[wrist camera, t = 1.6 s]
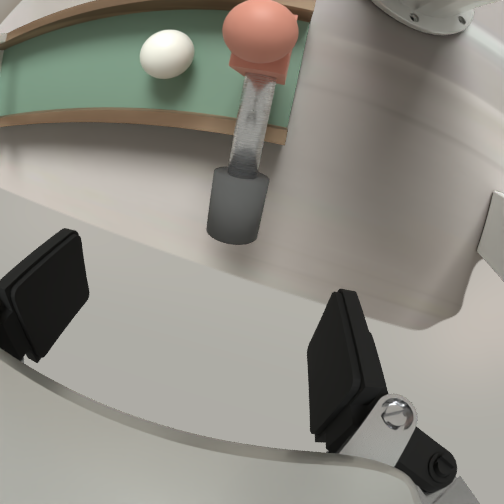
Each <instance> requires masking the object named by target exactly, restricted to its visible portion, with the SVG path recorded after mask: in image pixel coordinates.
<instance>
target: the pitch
mask: <svg viewBox="0 0 504 504" xmlns="http://www.w3.org/2000/svg"><path fill="white" fill-rule="evenodd" d="M245 1H248V0H96V1H92V2H88V3H84V4H81V5H77V6H74V7H71V8H68V9H65V10H62V11H59V12H56V13H53V14H51V15H48V16H45V17H43V18H40V19H38V20H35V21H33V22H31V23H28V24H26V25H24V26H22V27H20V28H17V29H15V30H13V31H11V32H9V33H7V37H6V42H4V43H0V50H4V53H3V58H2V65H1V72H0V127H4V126H13V125H24V124H38V123H59V122H107V123H130V124H145V125H158V126H168V127H178V128H186V129H194V130H202V131H209V132H216V133H222V134H228V135H234V130H235V124H236V119H237V114H238V108H239V103H240V98H241V93H242V88H243V82H244V78H245V77H244V76H243V75H241V74H240V73H238V72H237V71H236V70H234V69H233V68H231V67H230V66H229V61H230V56H231V51H230V50H229V48H228V47H227V45H226V44H225V42H224V39H223V33H222V28H223V23H224V20H225V18H226V16H227V15H228V13H229V12H230V11H231V10H232V9H233V8H234V7H235V6H237V5H238V4H240V3H242V2H245ZM272 1H275V2H278V3H280V4H281V5H283V6H285V7H286V8H287V9H288V10H289V11H290V12H291V13H292V14H294V15H298V18H297V24H298V32H299V34H298V39H297V42H296V44H295V46H294V48H293V49H292V53H291V58H290V63H289V67H288V72H287V77H286V81H285V85H281V84H276V85H275V90H274V95H273V100H272V105H271V109H270V114H269V119H268V124H267V129H266V133H265V138H264V141H266V142H271V143H276V144H280V145H285V141H286V136H287V132H288V131H287V126H288V121H289V117H290V112H291V108H292V103H293V99H294V94H295V89H296V85H297V80H298V76H299V71H300V66H301V62H302V57H303V52H304V48H305V43H306V38H307V34H308V29H309V24H310V21H311V17H312V14H313V11H314V7H315V2H316V0H272ZM163 30H177V31H180V32H183V33H184V34H186V35H187V36H188V37H189V38H190V39H191V41H192V43H193V45H194V50H195V53H194V58H193V61H192V63H191V65H190V66H189V67H188V69H187V70H186V71H184V72H183V73H182V74H180V75H178V76H176V77H173V78H169V79H159V78H155V77H152V76H151V75H149V74H148V73H146V72H145V71H144V69H143V68H142V66H141V63H140V51H141V48H142V46H143V44H144V43H145V41H146V40H147V39H148V38H149V37H150V36H152V35H153V34H155V33H157V32H159V31H163Z"/></svg>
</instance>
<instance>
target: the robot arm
mask: <svg viewBox="0 0 504 504" xmlns="http://www.w3.org/2000/svg"><path fill="white" fill-rule="evenodd" d="M371 1H372V2H373V3H374V4H375V5H377V6H378V7H379V8H380V9H382V10H383V11H384V12H385V13H387V14H388V15H390V16H391V17H393V18H394V19H396V20H397V21H399V22H401V23H403V24H405V25H407V26H409V27H411V28H413V29H416V30H418V31H421V32H424V33H428V34H433V35H450V34H455V33H458V32H460V31H463V30H464V29H466V28H467V27H468V26H469V25H470V23H471V22H472V20H473V16H474V12H475V8H477V7H481V6H484V5H487V4H491V3H494V2H498V1H502V0H371ZM411 19H412V20H411ZM88 298H89V288H88V282H87V277H86V271H85V264H84V258H83V250H82V242H81V238H80V236H79V235H78V232H76V231H74V230H70V229H66V228H64V229H62V230H60V231H59V232H58V233H56V234H55V235H54V236H52V237H51V238H50V239H48V240H47V241H46V242H45V243H43V244H42V245H41V246H39V247H38V248H37V249H36V250H34V251H33V252H32V253H31V254H30V255H28V256H27V257H26V258H25V259H24V260H22V261H21V262H20V263H19V264H18V265H16V266H15V267H14V268H13V269H12V270H11V271H10V272H9V273H7V274H6V275H5V276H4V277H3V278H2V279H1V280H0V504H480V503H479V502H478V500H477V499H476V498H475V496H474V495H473V493H472V492H471V490H470V489H469V488H468V486H467V485H466V483H465V482H464V481H463V479H462V478H461V476H459V477H458V478H456V473H457V465H456V460H455V459H454V457H453V455H452V454H451V453H450V452H449V451H447V450H446V449H445V448H443V447H442V446H441V445H440V444H438V443H437V442H435V441H434V440H433V439H432V438H430V437H429V436H428V435H426V434H425V433H424V432H422V431H421V430H420V429H419V428H417V427H416V425H417V421H418V417H417V412H416V409H415V407H414V406H413V404H412V403H411V402H410V401H409V400H408V399H407V398H405V397H403V396H401V395H398V394H388V391H387V387H386V383H385V379H384V375H383V372H382V368H381V364H380V361H379V357H378V354H377V350H376V347H375V343H374V340H373V337H372V335H371V333H370V332H369V330H368V327H367V324H366V320H365V317H364V314H363V311H362V308H361V305H360V302H359V299H358V296H357V293H356V292H355V291H350V290H345V289H339V290H338V292H333V293H332V295H331V297H330V299H329V302H328V304H327V306H326V309H325V311H324V313H323V316H322V317H321V320H320V322H319V324H318V326H317V329H316V331H315V333H314V335H313V337H312V339H311V341H310V343H309V346H308V350H307V361H308V381H309V403H310V404H309V406H310V432H311V433H312V434H315V442H326V449H327V450H328V451H327V452H326V453H321V452H310V451H298V450H286V449H277V448H269V447H261V446H255V445H248V444H242V443H235V442H230V441H225V440H219V439H214V438H210V437H205V436H201V435H197V434H192V433H189V432H184V431H181V430H177V429H174V428H170V427H166V426H163V425H160V424H157V423H154V422H151V421H147V420H144V419H141V418H138V417H135V416H133V415H130V414H127V413H124V412H122V411H119V410H117V409H114V408H112V407H109V406H107V405H104V404H102V403H99V402H97V401H95V400H93V399H90V398H88V397H86V396H84V395H82V394H79V393H77V392H75V391H73V390H71V389H69V388H67V387H65V386H63V385H61V384H59V383H57V382H55V381H54V380H52V379H50V378H48V377H46V376H44V375H42V374H41V373H39V372H37V371H36V370H34V369H32V368H30V367H29V366H27V365H26V364H24V358H23V357H24V355H25V354H26V355H27V357H28V358H29V359H31V360H33V361H34V362H36V363H38V362H39V360H40V359H41V357H44V356H45V355H46V354H47V353H48V351H49V350H50V348H51V347H52V346H53V344H54V343H55V342H56V340H57V339H58V338H59V336H60V335H61V333H62V332H63V331H64V329H65V328H66V327H67V325H68V324H69V323H70V322H71V320H72V319H73V318H74V316H75V315H76V314H77V313H78V311H79V310H80V309H81V307H82V306H83V305H84V304H85V302H86V301H87V300H88Z"/></svg>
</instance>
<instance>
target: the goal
mask: <svg viewBox="0 0 504 504" xmlns="http://www.w3.org/2000/svg"><path fill="white" fill-rule="evenodd" d="M6 37H7V33H2V34H0V43H4V42H6ZM3 53H4V50H0V72H1V65H2V58H3Z"/></svg>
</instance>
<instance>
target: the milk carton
mask: <svg viewBox="0 0 504 504" xmlns="http://www.w3.org/2000/svg"><path fill="white" fill-rule="evenodd" d="M477 252H478V253H479V254H480V255H481V256H482V258H483V259H484V260H485V261H486V262H487V263H488V264H489V265H490V266H491V267H492V269H493V270H494V271H495V272H496V273H497V274H498V276H499V277H500V278H501V279H502V280H503V281H504V193H501V192H497V191H494V192H493V196H492V200H491V204H490V208H489V212H488V216H487V220H486V223H485V227H484V230H483V233H482V236H481V240H480V243H479V246H478V249H477Z"/></svg>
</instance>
